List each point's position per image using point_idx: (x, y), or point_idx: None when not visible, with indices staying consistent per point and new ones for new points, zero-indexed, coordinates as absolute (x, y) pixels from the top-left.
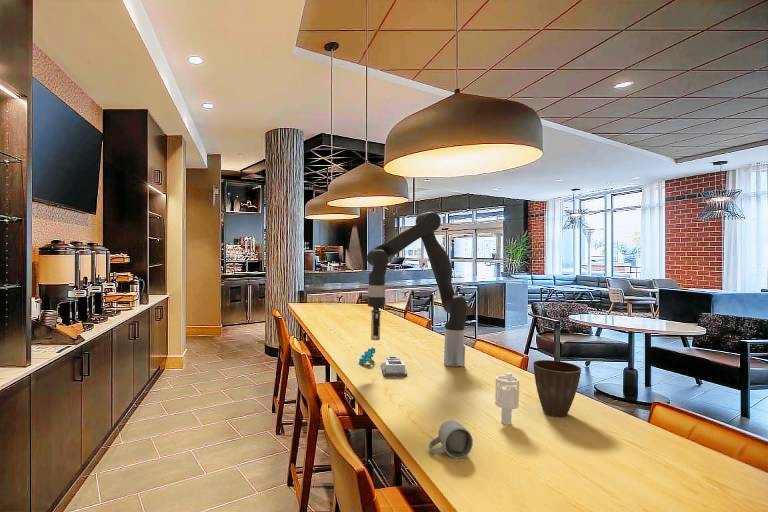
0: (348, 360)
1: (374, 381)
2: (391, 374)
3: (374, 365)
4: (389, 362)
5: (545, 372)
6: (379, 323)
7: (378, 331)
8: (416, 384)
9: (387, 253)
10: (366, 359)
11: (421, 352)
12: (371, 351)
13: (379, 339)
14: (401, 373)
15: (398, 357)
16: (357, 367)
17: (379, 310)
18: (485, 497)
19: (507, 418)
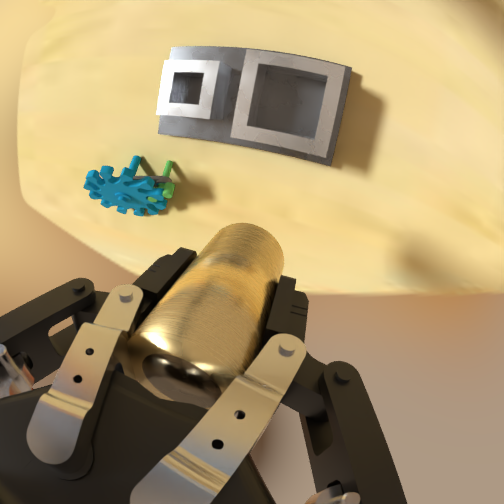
0: (109, 238)
1: (382, 224)
2: (337, 133)
3: (172, 163)
4: (250, 118)
5: None
6: (234, 345)
7: (268, 290)
8: (450, 88)
9: None
10: (154, 201)
11: (57, 4)
12: (112, 181)
13: (270, 235)
14: (343, 90)
15: (186, 61)
16: (186, 231)
17: (50, 466)
18: None
19: None
